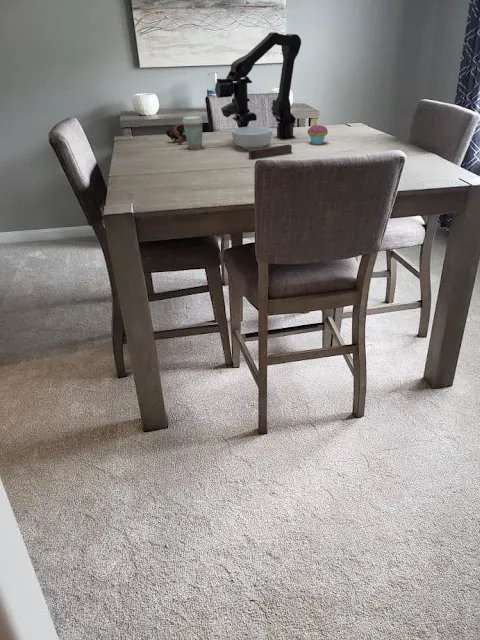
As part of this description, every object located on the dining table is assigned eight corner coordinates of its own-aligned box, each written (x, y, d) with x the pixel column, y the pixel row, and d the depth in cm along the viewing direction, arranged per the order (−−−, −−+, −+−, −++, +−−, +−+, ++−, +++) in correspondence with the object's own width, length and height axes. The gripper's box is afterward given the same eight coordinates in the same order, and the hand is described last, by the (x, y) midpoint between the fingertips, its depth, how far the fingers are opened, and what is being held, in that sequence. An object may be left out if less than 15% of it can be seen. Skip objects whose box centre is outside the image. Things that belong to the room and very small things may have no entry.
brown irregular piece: (192, 140, 227) (194, 124, 220) (189, 153, 222) (191, 138, 215) (166, 133, 225) (167, 118, 218) (163, 147, 220) (163, 132, 213)
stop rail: (289, 152, 200) (289, 144, 198) (291, 153, 198) (291, 145, 196) (248, 158, 193) (248, 150, 192) (250, 159, 192) (250, 151, 190)
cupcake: (304, 144, 210) (305, 113, 203) (310, 140, 216) (311, 110, 210) (324, 145, 207) (325, 114, 200) (329, 141, 214) (331, 111, 207)
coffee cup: (188, 151, 207) (184, 119, 200) (183, 147, 213) (179, 116, 206) (207, 148, 209) (205, 117, 202) (202, 144, 216) (199, 114, 209)
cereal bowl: (259, 154, 199) (258, 135, 195) (225, 150, 206) (223, 132, 202) (279, 145, 210) (279, 127, 206) (247, 141, 218) (246, 124, 214)
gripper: (214, 94, 210) (217, 133, 219) (231, 100, 196) (233, 142, 205) (238, 92, 214) (240, 131, 222) (256, 98, 200) (257, 139, 208)
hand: (242, 135), depth 214 cm, fingers closed
